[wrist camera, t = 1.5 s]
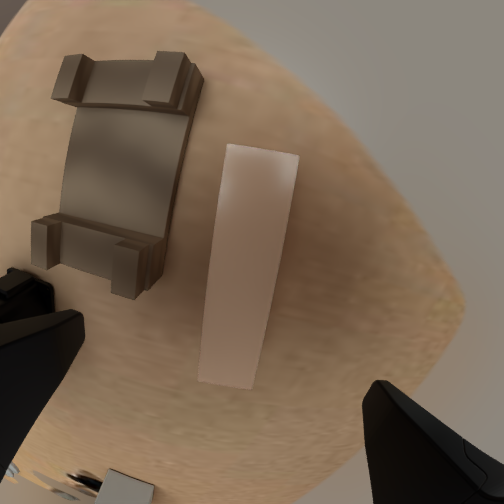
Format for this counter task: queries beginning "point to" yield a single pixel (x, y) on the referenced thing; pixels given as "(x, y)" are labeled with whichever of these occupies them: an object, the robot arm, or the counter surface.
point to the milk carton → (124, 490)
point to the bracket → (119, 167)
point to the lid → (12, 470)
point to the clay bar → (244, 262)
